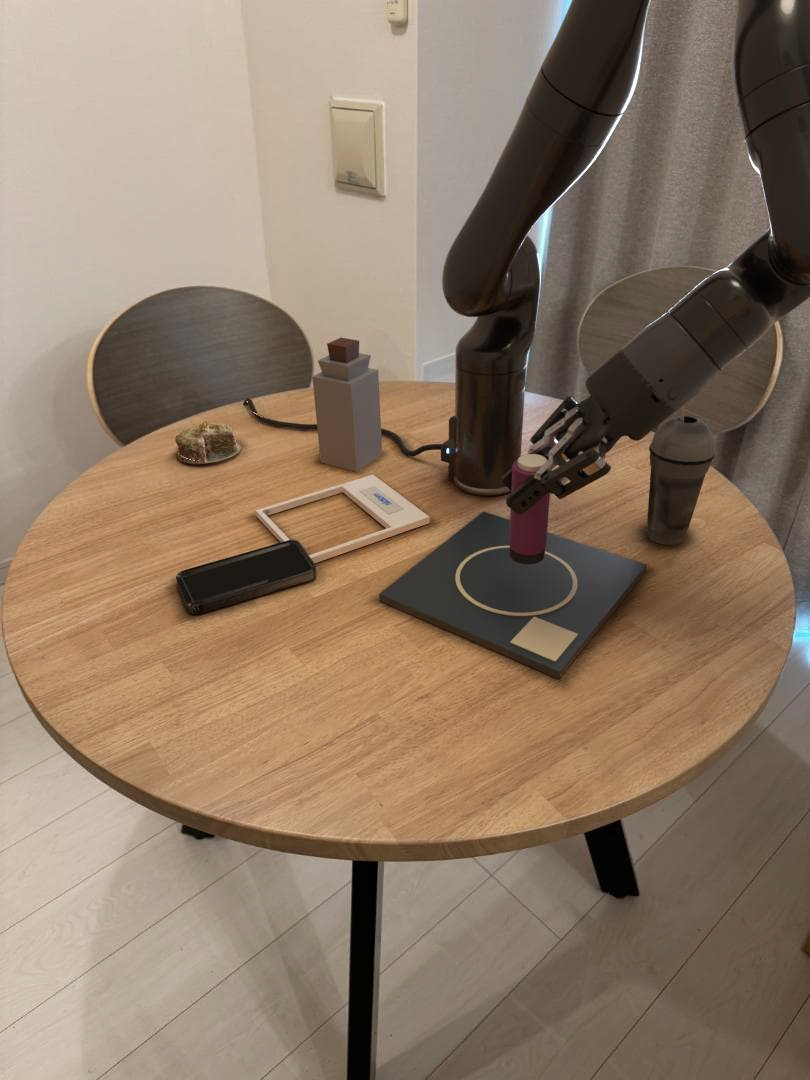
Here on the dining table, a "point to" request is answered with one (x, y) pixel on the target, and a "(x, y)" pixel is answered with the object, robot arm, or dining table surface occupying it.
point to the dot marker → (528, 516)
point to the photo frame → (369, 497)
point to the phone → (244, 576)
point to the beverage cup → (677, 476)
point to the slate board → (516, 593)
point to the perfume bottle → (347, 407)
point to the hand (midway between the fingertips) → (510, 496)
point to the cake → (207, 443)
